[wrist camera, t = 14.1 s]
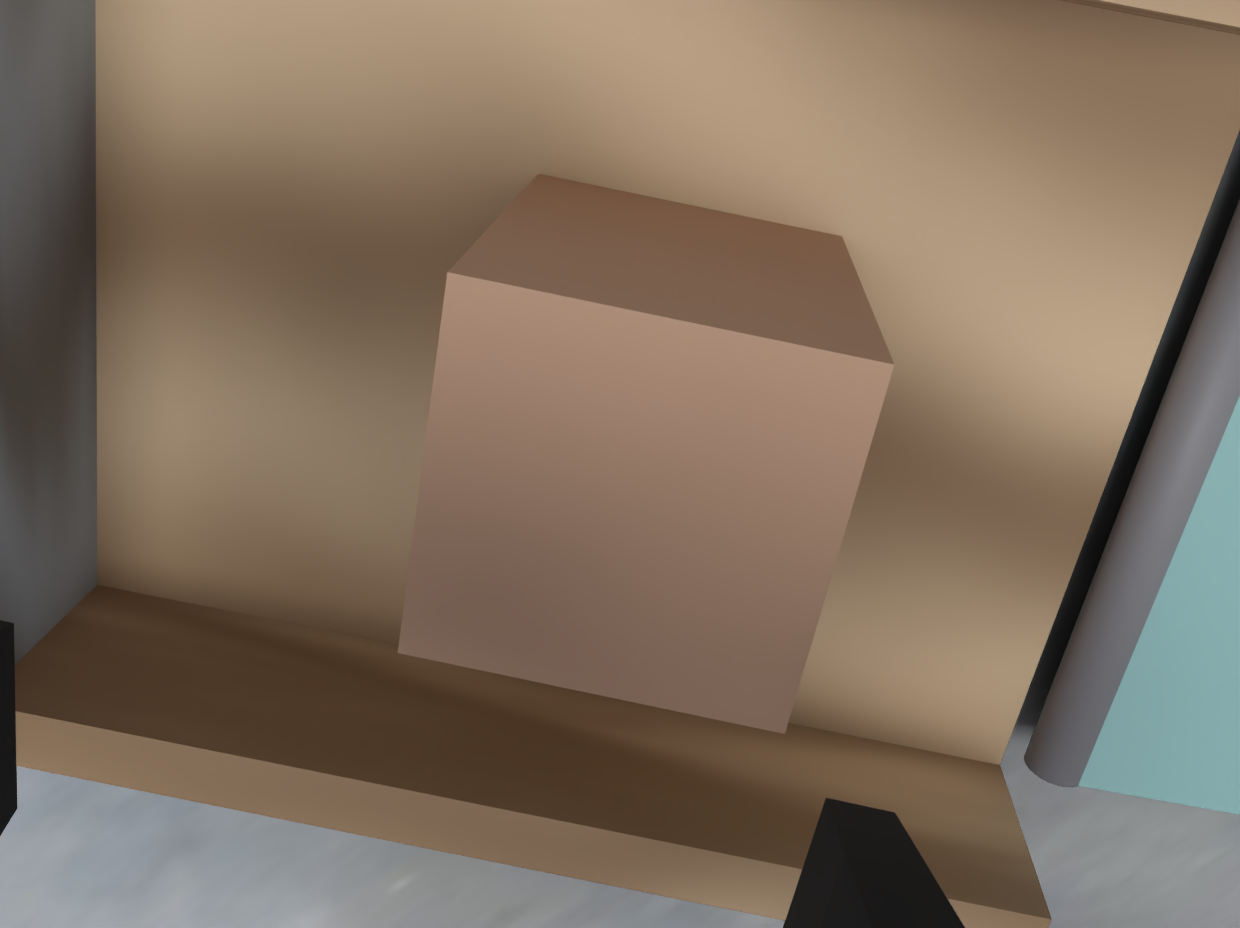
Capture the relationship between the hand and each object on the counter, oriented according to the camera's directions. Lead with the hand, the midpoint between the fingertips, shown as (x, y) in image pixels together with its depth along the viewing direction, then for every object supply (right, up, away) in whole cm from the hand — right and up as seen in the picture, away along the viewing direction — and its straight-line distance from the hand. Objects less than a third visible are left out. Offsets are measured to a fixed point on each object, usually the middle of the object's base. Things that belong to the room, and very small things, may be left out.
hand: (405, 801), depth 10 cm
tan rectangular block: (+2, +5, +8) cm, 9 cm away
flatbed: (0, +5, +8) cm, 10 cm away
